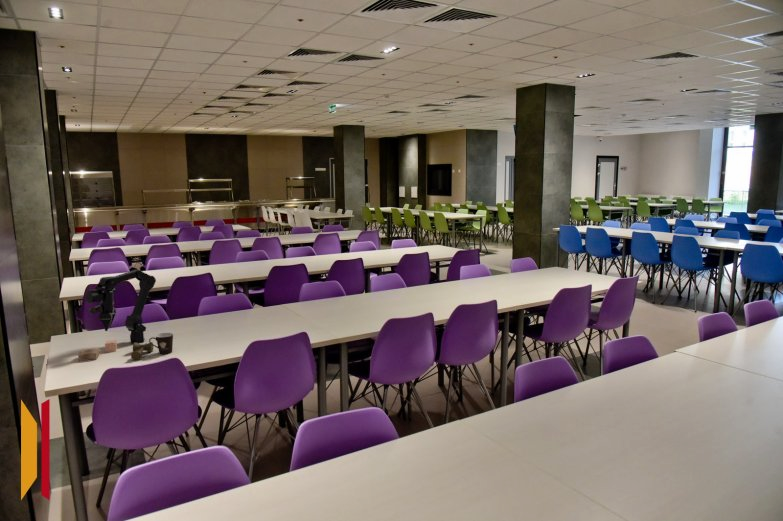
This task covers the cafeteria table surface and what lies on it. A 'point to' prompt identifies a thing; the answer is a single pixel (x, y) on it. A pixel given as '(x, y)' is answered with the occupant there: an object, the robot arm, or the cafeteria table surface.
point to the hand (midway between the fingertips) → (107, 329)
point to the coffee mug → (164, 342)
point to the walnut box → (88, 354)
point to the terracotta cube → (111, 346)
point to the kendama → (140, 350)
